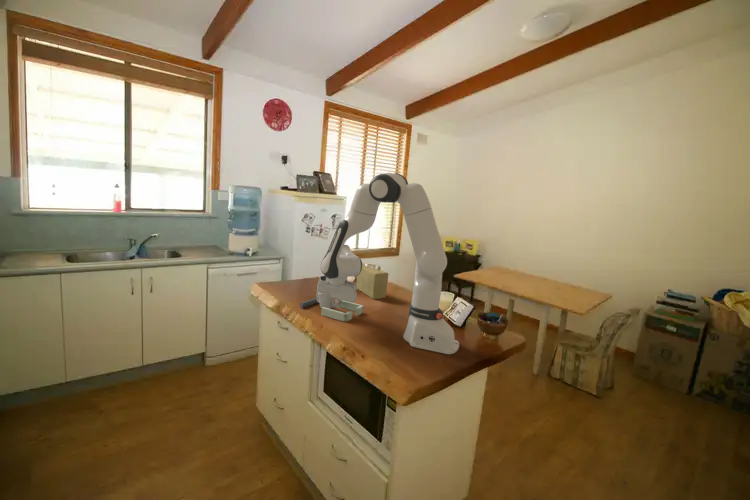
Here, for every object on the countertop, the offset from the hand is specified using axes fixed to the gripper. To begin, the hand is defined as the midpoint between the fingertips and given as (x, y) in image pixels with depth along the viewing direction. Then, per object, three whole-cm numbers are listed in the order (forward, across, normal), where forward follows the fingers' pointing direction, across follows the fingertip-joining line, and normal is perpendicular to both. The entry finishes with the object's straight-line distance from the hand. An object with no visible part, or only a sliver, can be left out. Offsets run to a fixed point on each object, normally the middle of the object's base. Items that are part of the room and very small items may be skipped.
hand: (335, 307), depth 163 cm
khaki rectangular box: (+2, +3, -40) cm, 40 cm away
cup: (+2, +6, 0) cm, 6 cm away
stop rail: (+2, +14, 0) cm, 14 cm away
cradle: (+2, -4, 0) cm, 4 cm away
